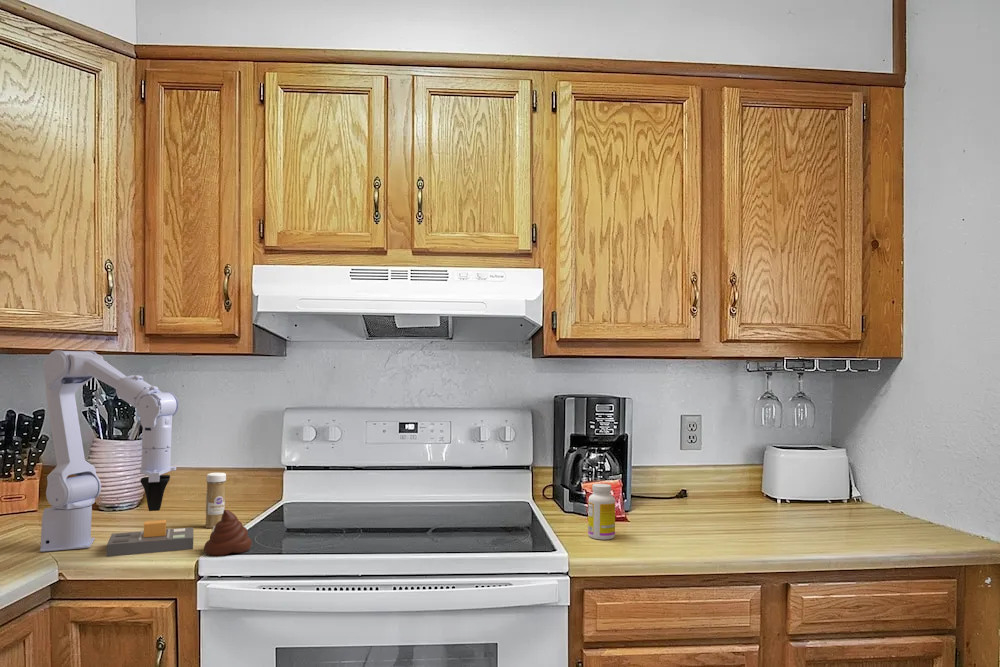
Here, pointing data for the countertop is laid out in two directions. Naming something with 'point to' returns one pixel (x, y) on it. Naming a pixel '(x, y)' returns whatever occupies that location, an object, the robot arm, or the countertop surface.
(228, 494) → the countertop surface
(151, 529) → the block
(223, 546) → the poop emoji
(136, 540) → the grey block
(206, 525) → the sprinkles bottle
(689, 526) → the countertop surface
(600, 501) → the supplement bottle
